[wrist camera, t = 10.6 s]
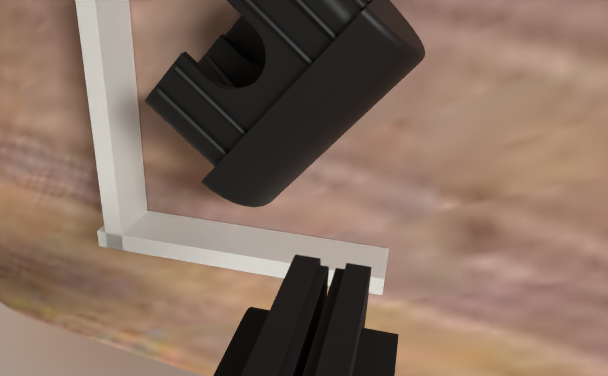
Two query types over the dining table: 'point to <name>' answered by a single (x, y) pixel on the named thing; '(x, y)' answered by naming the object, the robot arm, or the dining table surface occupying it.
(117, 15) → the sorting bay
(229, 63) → the end cap
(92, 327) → the dining table surface
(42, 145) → the dining table surface
